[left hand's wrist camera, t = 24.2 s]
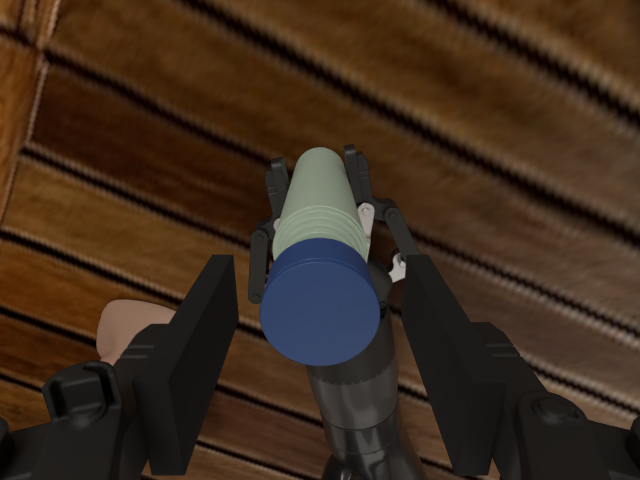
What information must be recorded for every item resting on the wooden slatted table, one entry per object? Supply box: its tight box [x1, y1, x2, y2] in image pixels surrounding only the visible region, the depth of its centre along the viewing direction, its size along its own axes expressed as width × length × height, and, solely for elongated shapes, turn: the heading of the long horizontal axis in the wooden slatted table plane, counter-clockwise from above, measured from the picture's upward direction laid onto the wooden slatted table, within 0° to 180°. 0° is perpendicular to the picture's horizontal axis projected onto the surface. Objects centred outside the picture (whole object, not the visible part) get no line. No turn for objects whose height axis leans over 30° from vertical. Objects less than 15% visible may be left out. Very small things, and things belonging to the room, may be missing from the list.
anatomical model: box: [97, 299, 176, 366], centre depth 39 cm, size 13×4×12 cm
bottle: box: [273, 147, 367, 261], centre depth 24 cm, size 4×4×22 cm
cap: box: [260, 238, 380, 366], centre depth 14 cm, size 4×4×2 cm
